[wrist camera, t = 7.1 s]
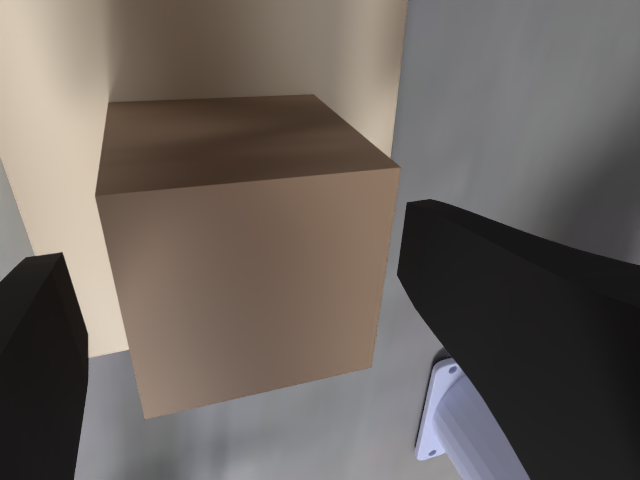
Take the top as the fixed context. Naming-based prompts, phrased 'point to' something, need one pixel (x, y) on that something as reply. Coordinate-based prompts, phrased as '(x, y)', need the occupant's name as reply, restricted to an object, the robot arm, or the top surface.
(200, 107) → the walnut cube
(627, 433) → the robot arm
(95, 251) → the maple block
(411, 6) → the top surface
